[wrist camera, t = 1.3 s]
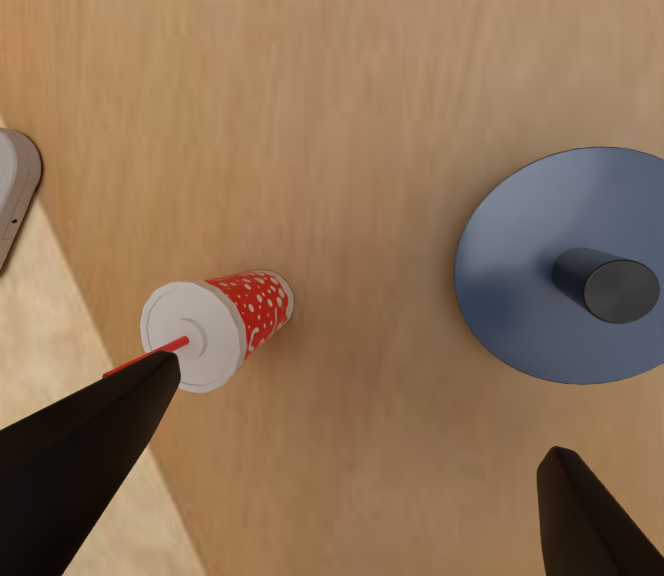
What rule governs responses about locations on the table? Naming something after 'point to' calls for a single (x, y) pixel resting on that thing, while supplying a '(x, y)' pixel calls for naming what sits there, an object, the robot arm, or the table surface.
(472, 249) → the lid
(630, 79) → the table surface
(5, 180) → the electronic device
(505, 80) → the table surface
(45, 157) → the table surface
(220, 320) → the beverage cup
